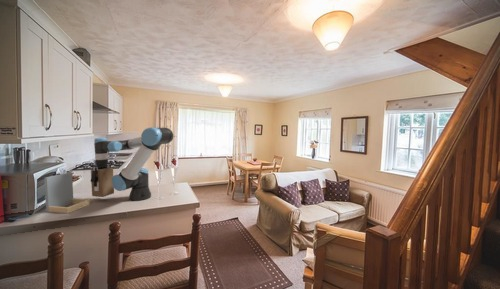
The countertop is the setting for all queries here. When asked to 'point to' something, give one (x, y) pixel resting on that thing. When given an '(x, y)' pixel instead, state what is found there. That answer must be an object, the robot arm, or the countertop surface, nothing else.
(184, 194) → the countertop surface
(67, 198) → the board
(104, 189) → the wooden block
